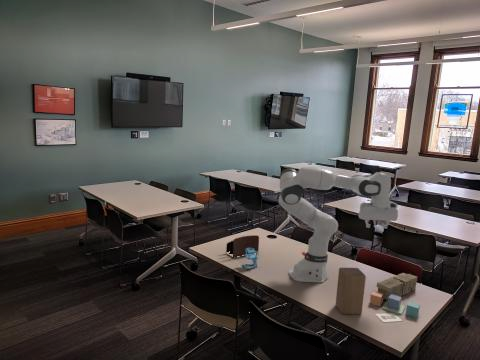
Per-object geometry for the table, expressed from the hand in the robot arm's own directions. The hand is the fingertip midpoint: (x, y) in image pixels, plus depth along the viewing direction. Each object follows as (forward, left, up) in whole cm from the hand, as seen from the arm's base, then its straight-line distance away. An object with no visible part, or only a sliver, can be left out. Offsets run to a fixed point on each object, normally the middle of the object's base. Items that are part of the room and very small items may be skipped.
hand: (376, 227), depth 194 cm
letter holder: (-61, +57, -36) cm, 91 cm away
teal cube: (+7, -27, -35) cm, 45 cm away
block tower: (+12, -6, -35) cm, 38 cm away
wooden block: (-23, -20, -35) cm, 47 cm away
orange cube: (-5, -15, -35) cm, 39 cm away
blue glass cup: (-60, +35, -35) cm, 78 cm away
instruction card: (-7, -29, -35) cm, 46 cm away
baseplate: (+1, -21, -35) cm, 41 cm away
